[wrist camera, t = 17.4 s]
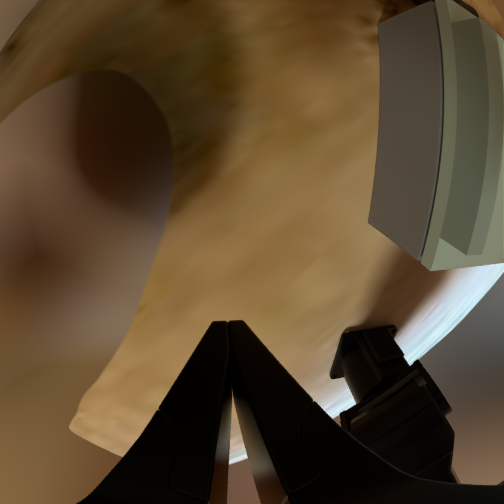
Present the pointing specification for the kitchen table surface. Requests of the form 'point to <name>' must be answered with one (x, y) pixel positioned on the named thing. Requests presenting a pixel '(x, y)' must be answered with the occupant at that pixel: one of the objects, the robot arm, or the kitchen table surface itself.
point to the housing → (409, 127)
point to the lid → (469, 146)
